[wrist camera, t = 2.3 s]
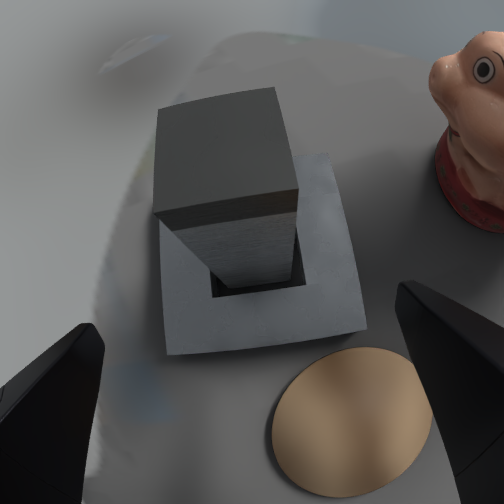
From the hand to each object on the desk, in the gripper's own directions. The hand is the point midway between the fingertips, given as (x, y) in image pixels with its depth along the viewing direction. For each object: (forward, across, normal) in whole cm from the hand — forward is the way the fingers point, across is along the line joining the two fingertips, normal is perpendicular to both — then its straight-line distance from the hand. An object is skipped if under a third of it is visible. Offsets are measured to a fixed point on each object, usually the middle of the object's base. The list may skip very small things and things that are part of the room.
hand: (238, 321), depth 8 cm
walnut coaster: (+3, -5, +13) cm, 15 cm away
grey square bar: (+12, 0, +5) cm, 13 cm away
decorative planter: (+14, -22, +3) cm, 26 cm away
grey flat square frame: (+12, 0, +5) cm, 13 cm away
